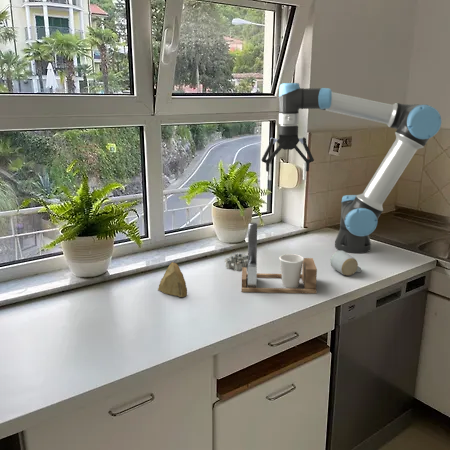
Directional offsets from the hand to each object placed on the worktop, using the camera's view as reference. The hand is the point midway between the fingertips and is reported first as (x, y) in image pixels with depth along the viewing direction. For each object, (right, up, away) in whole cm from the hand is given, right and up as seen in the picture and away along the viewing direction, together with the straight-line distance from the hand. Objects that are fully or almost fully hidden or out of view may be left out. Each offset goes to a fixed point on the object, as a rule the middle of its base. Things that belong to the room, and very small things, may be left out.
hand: (287, 179), depth 183 cm
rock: (-42, -41, -28) cm, 65 cm away
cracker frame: (-6, -39, -21) cm, 45 cm away
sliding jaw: (-15, -39, -21) cm, 46 cm away
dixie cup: (-2, -39, -21) cm, 44 cm away
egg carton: (-20, -34, -3) cm, 39 cm away
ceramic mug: (+21, -36, -10) cm, 43 cm away
